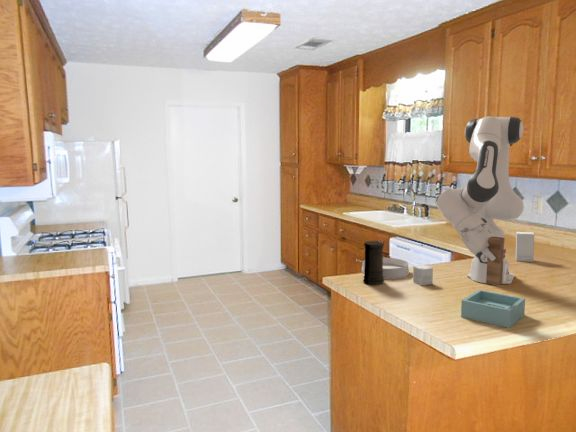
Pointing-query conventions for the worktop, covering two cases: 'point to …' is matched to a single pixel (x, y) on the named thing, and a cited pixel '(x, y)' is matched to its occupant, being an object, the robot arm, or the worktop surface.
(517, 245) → the skincare box
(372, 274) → the container
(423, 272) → the skincare box
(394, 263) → the dish
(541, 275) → the worktop surface
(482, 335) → the worktop surface
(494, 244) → the peg
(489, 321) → the socket
